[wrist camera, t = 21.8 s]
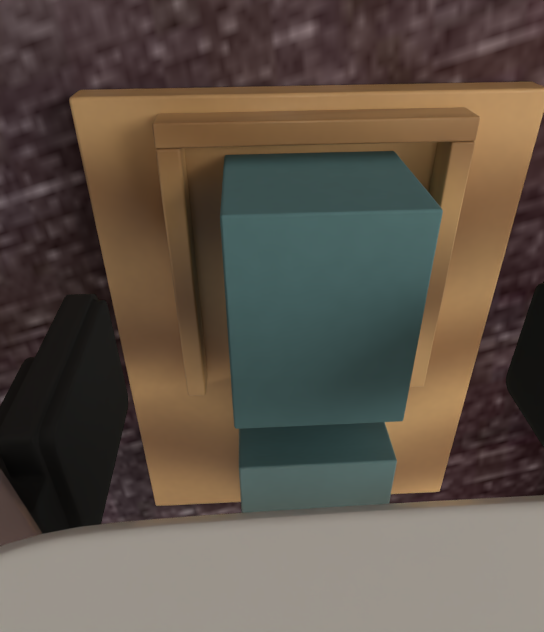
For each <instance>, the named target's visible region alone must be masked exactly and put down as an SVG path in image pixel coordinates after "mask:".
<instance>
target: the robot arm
mask: <svg viewBox="0 0 544 632" xmlns="http://www.w3.org/2000/svg"><path fill="white" fill-rule="evenodd" d="M506 385H507V389H508V391H509V393H510V395H511V396H512V398H513V399H514V401H515V403H516V404H517V406H518V407H519V409H520V411H521V412H522V414H523V415H524V417H525V418H526V420H527V422H528V423H529V425H530V426H531V428H532V430H533V431H534V433H535V434H536V436H537V437H538V439H539V441H540V442H541V444H542V445H543V447H544V282H543V283H541V284H539V285H538V286H537V287H536V289H535V292H534V295H533V298H532V301H531V304H530V307H529V310H528V313H527V316H526V319H525V322H524V325H523V328H522V331H521V334H520V337H519V340H518V343H517V346H516V349H515V352H514V355H513V358H512V361H511V364H510V367H509V370H508V373H507V377H506ZM127 409H128V394H127V389H126V385H125V380H124V376H123V371H122V367H121V362H120V358H119V353H118V349H117V345H116V340H115V336H114V331H113V327H112V322H111V318H110V313H109V309H108V305H107V302H106V301H105V300H98V298H97V296H96V295H95V294H75V295H66V296H65V298H64V300H63V302H62V304H61V306H60V308H59V310H58V312H57V314H56V316H55V318H54V320H53V322H52V324H51V326H50V328H49V330H48V332H47V334H46V336H45V338H44V340H43V342H42V344H41V346H40V348H39V350H38V352H37V354H36V357H30V358H28V359H26V360H25V361H24V362H23V364H22V365H21V367H20V369H19V371H18V373H17V375H16V377H15V379H14V381H13V383H12V385H11V387H10V389H9V391H8V392H7V394H6V396H5V398H4V400H3V402H2V404H1V406H0V632H544V495H538V496H519V497H500V498H482V499H464V500H446V501H429V502H411V503H394V504H377V505H360V506H343V507H327V508H311V509H295V510H279V511H263V512H248V513H232V514H216V515H202V516H189V517H176V518H164V519H151V520H138V521H126V522H116V523H108V524H101V521H102V517H103V513H104V508H105V504H106V500H107V495H108V491H109V487H110V483H111V478H112V474H113V470H114V465H115V461H116V457H117V453H118V448H119V444H120V440H121V435H122V431H123V427H124V423H125V418H126V414H127Z"/></svg>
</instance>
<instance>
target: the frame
mask: <svg viewBox="0 0 544 632" xmlns="http://www.w3.org/2000/svg"><path fill="white" fill-rule="evenodd" d="M69 102H70V107H71V112H72V116H73V121H74V126H75V130H76V135H77V140H78V144H79V149H80V154H81V158H82V163H83V168H84V172H85V177H86V182H87V186H88V191H89V196H90V200H91V205H92V210H93V214H94V219H95V224H96V228H97V233H98V238H99V242H100V247H101V252H102V256H103V261H104V266H105V270H106V275H107V280H108V284H109V289H110V294H111V298H112V303H113V308H114V312H115V317H116V322H117V326H118V331H119V336H120V340H121V345H122V350H123V354H124V359H125V364H126V368H127V373H128V378H129V382H130V387H131V392H132V396H133V401H134V406H135V410H136V415H137V420H138V424H139V429H140V434H141V438H142V443H143V448H144V452H145V457H146V462H147V466H148V471H149V476H150V480H151V485H152V490H153V494H154V499H155V504H156V506H166V505H186V504H205V503H225V502H241V511H242V513H248V512H263V511H279V510H295V509H311V508H327V507H343V506H360V505H377V504H389V501H390V496H391V494H403V493H423V492H438V491H440V488H441V484H442V480H443V477H444V473H445V469H446V466H447V462H448V458H449V455H450V451H451V448H452V444H453V440H454V437H455V433H456V429H457V426H458V422H459V418H460V415H461V411H462V407H463V404H464V400H465V396H466V393H467V389H468V386H469V382H470V378H471V375H472V371H473V367H474V364H475V360H476V356H477V353H478V349H479V345H480V342H481V338H482V335H483V331H484V327H485V324H486V320H487V316H488V313H489V309H490V305H491V302H492V298H493V294H494V291H495V287H496V283H497V280H498V276H499V273H500V269H501V265H502V262H503V258H504V254H505V251H506V247H507V243H508V240H509V236H510V232H511V229H512V225H513V221H514V218H515V214H516V211H517V207H518V203H519V200H520V196H521V192H522V189H523V185H524V181H525V178H526V174H527V170H528V167H529V163H530V160H531V156H532V152H533V149H534V145H535V141H536V138H537V134H538V130H539V127H540V123H541V119H542V116H543V112H544V87H543V86H541V85H538V84H536V83H534V82H481V83H426V84H371V85H316V86H262V87H207V88H152V89H98V90H79V91H78V92H76V93H75V94H74V95H73V96H71V97H70V99H69ZM368 151H394V152H395V153H396V154H397V155H398V156H399V157H400V159H401V160H402V161H403V162H404V163H405V165H406V166H407V167H408V168H409V169H410V171H411V172H412V173H413V174H414V176H415V177H416V178H417V179H418V180H419V182H420V183H421V184H422V185H423V186H424V188H425V189H426V190H427V191H428V192H429V194H430V195H431V196H432V197H433V198H434V200H435V201H436V202H437V203H438V205H439V206H440V207H441V208H442V210H443V214H442V219H441V224H440V229H439V235H438V240H437V245H436V251H435V256H434V261H433V266H432V272H431V277H430V282H429V287H428V293H427V298H426V303H425V309H424V314H423V319H422V324H421V330H420V335H419V340H418V345H417V351H416V356H415V361H414V367H413V372H412V377H411V382H410V388H409V393H408V398H407V403H406V409H405V414H404V419H403V421H399V422H377V423H355V424H332V425H310V426H288V427H265V428H243V429H236V428H235V427H234V417H233V403H232V388H231V373H230V359H229V344H228V329H227V315H226V300H225V286H224V271H223V256H222V242H221V227H220V209H221V195H222V181H223V167H224V157H225V155H240V154H283V153H325V152H368Z"/></svg>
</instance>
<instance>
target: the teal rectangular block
mask: <svg viewBox="0 0 544 632" xmlns="http://www.w3.org/2000/svg"><path fill="white" fill-rule="evenodd" d="M442 214H443V210H442V208H441V207H440V206H439V205H438V203H437V202H436V201H435V200H434V198H433V197H432V196H431V195H430V194H429V192H428V191H427V190H426V189H425V188H424V186H423V185H422V184H421V183H420V182H419V180H418V179H417V178H416V177H415V176H414V174H413V173H412V172H411V171H410V169H409V168H408V167H407V166H406V165H405V163H404V162H403V161H402V160H401V159H400V157H399V156H398V155H397V154H396V153H395V152H394V151H368V152H325V153H283V154H240V155H225V157H224V167H223V181H222V195H221V209H220V227H221V242H222V256H223V271H224V286H225V300H226V315H227V329H228V344H229V359H230V373H231V388H232V403H233V417H234V427H235V428H236V429H243V428H265V427H288V426H310V425H332V424H355V423H377V422H399V421H403V419H404V414H405V409H406V403H407V398H408V393H409V388H410V382H411V377H412V372H413V367H414V361H415V356H416V351H417V345H418V340H419V335H420V330H421V324H422V319H423V314H424V309H425V303H426V298H427V293H428V287H429V282H430V277H431V272H432V266H433V261H434V256H435V251H436V245H437V240H438V235H439V229H440V224H441V219H442Z"/></svg>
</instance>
